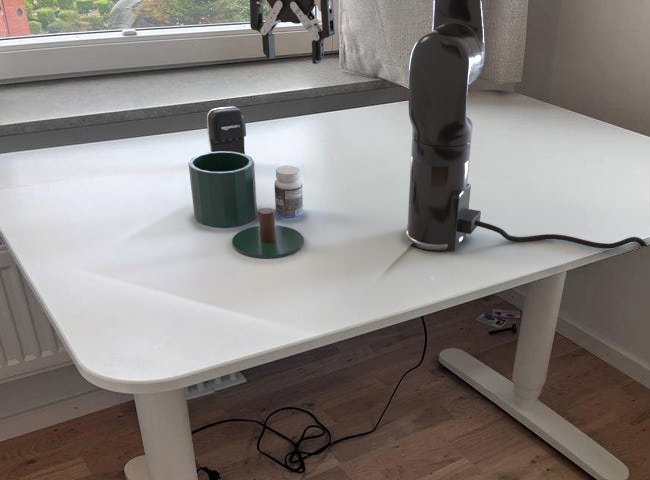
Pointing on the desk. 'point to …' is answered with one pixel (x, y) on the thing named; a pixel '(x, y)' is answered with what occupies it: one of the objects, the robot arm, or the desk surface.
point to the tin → (223, 189)
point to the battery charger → (226, 129)
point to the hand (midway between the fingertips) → (293, 60)
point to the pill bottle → (288, 192)
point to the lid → (267, 238)
